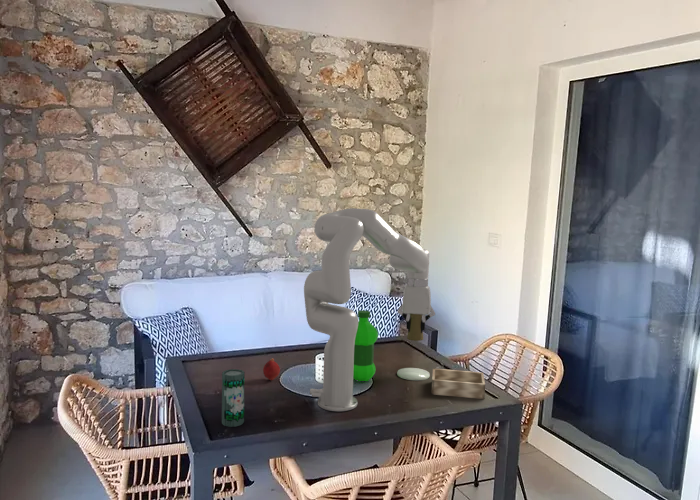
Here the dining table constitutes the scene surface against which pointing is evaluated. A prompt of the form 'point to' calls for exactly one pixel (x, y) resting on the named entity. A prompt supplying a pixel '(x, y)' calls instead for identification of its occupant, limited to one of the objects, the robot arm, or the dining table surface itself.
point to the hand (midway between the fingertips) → (415, 331)
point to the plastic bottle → (364, 348)
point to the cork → (415, 328)
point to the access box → (458, 383)
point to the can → (233, 397)
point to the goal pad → (413, 374)
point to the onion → (271, 369)
